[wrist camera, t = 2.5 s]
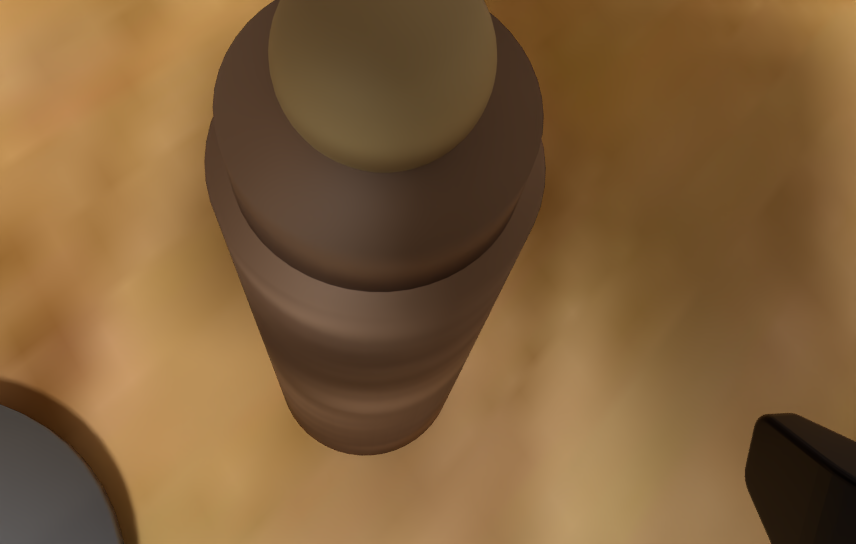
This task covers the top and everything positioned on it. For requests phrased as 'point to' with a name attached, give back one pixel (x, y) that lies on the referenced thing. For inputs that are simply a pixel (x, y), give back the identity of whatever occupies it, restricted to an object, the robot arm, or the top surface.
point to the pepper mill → (373, 199)
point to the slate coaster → (49, 489)
